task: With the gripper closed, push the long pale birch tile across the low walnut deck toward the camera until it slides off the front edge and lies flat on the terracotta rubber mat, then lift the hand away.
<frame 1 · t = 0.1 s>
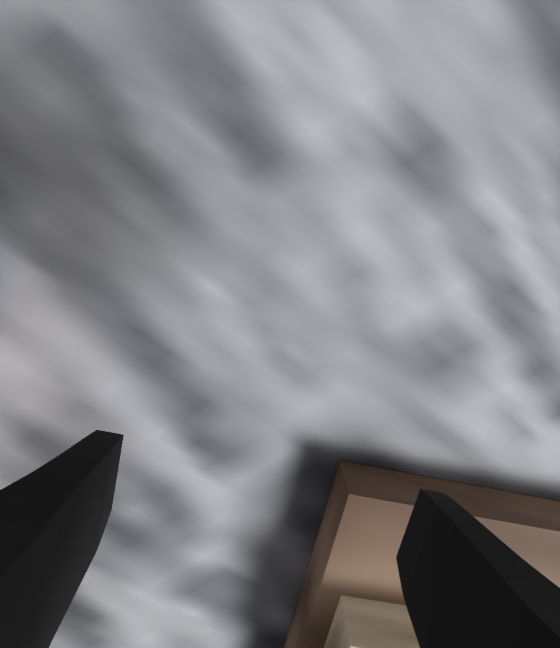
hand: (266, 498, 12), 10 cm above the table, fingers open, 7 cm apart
walnut deck: (422, 619, 26), on the table
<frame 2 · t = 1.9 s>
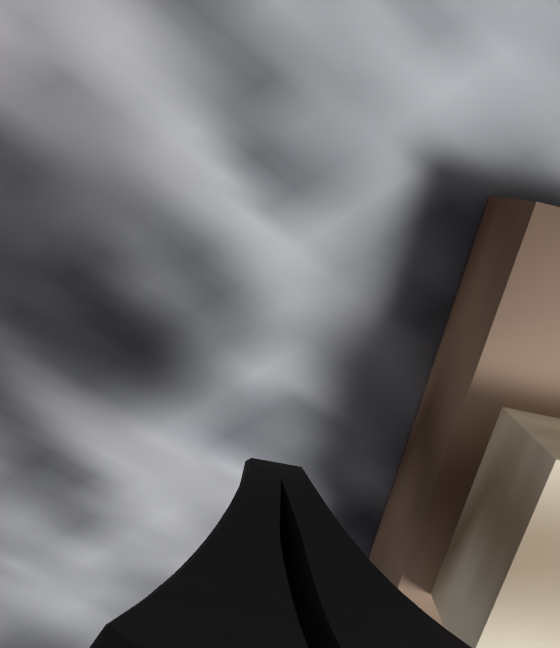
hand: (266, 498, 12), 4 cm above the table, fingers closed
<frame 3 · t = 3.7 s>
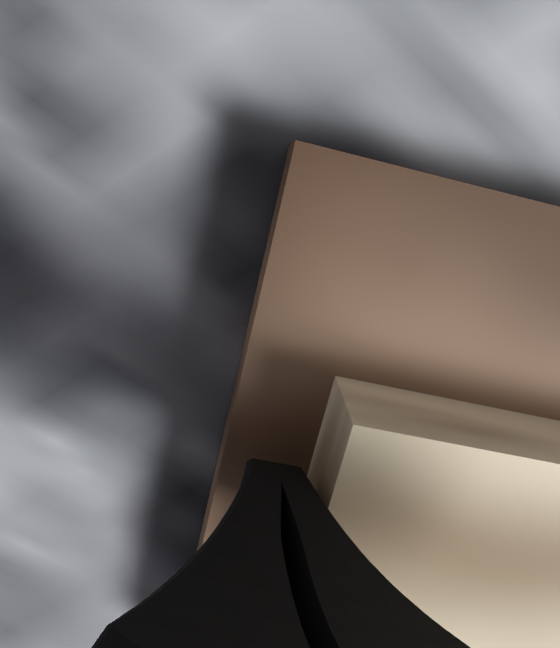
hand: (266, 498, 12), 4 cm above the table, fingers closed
walnut deck: (430, 458, 16), on the table
birch tile: (468, 510, 14), point 3 cm above the table, touching gripper
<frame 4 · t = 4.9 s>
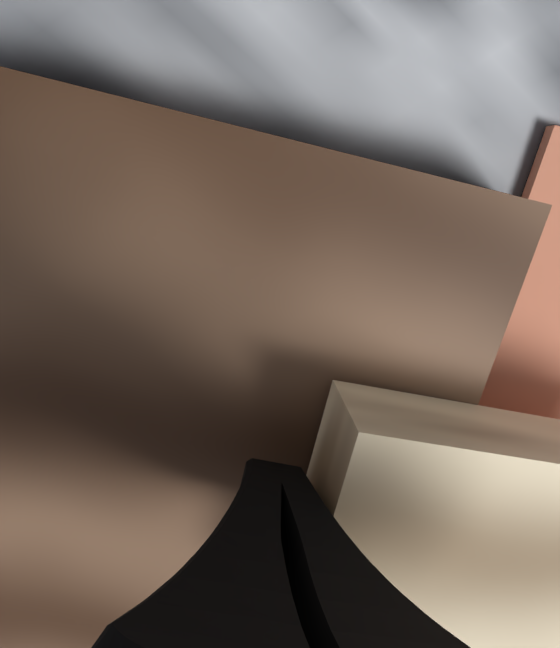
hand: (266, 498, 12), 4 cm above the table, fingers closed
walnut deck: (208, 415, 16), on the table
birch tile: (464, 508, 14), point 2 cm above the table, touching gripper
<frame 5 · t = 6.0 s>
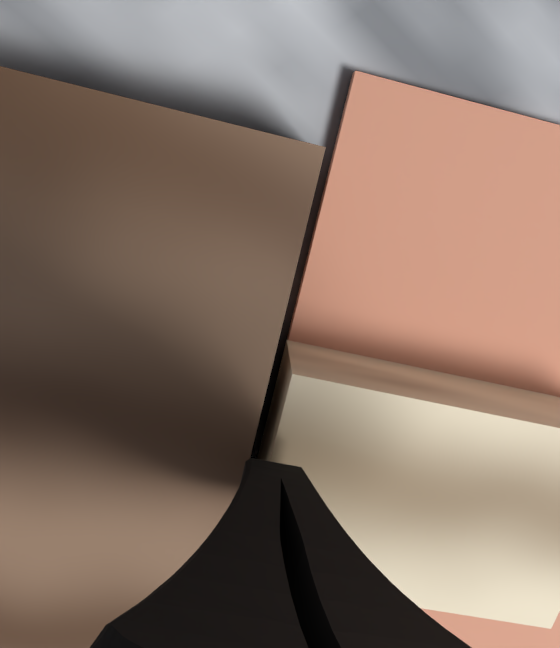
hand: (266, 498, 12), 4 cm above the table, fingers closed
walnut deck: (28, 381, 15), on the table
birch tile: (407, 461, 16), resting on terracotta mat
terracotta mat: (510, 472, 17), on the table
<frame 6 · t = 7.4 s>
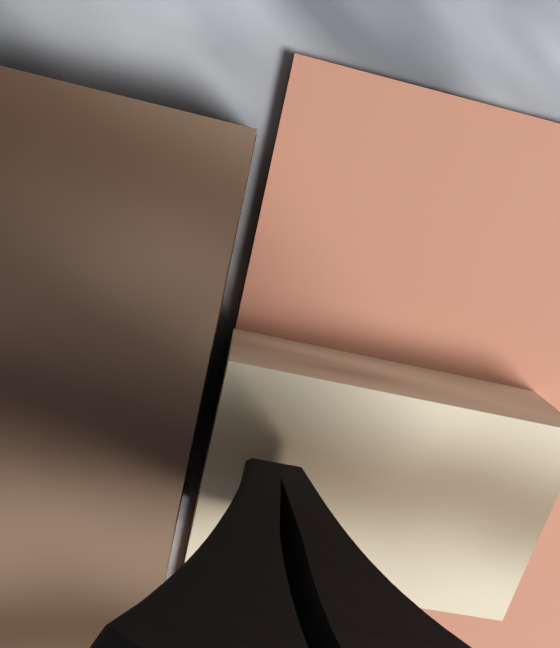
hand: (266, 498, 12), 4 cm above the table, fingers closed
birch tile: (360, 451, 16), resting on terracotta mat
terracotta mat: (466, 463, 16), on the table
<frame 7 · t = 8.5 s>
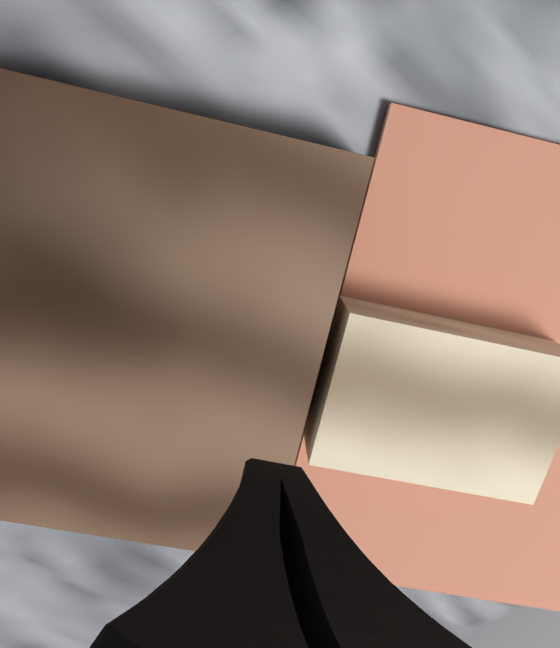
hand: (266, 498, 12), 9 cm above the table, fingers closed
walnut deck: (149, 327, 21), on the table
birch tile: (426, 387, 21), resting on terracotta mat
terracotta mat: (503, 397, 22), on the table
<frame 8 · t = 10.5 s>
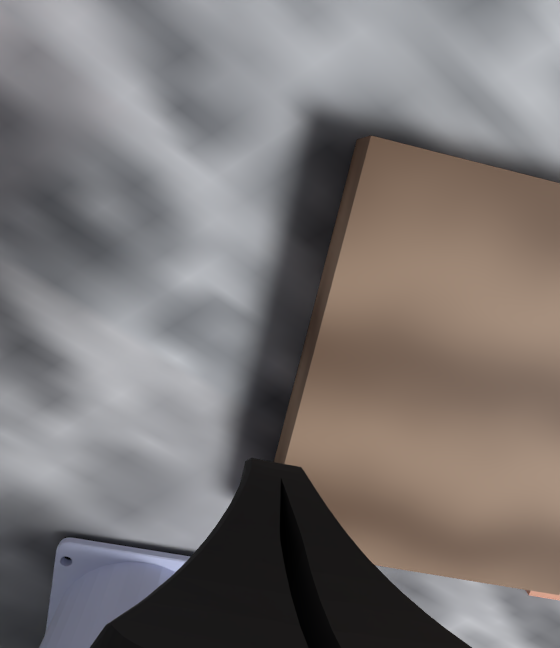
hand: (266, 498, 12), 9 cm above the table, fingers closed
walnut deck: (454, 373, 22), on the table
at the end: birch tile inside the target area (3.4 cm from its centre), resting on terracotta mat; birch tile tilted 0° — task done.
